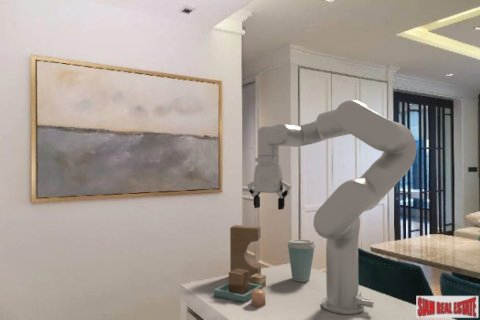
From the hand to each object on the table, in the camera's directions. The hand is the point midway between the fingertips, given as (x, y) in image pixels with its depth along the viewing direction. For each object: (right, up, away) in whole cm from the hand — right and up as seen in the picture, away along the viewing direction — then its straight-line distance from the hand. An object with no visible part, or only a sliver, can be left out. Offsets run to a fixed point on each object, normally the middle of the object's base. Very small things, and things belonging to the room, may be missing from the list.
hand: (268, 208), depth 125 cm
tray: (-11, -28, -7) cm, 31 cm away
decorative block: (-8, -29, +11) cm, 32 cm away
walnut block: (-11, -28, -7) cm, 30 cm away
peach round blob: (-5, -28, -15) cm, 32 cm away
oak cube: (-4, -29, +1) cm, 29 cm away
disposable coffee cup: (+13, -29, +9) cm, 33 cm away
